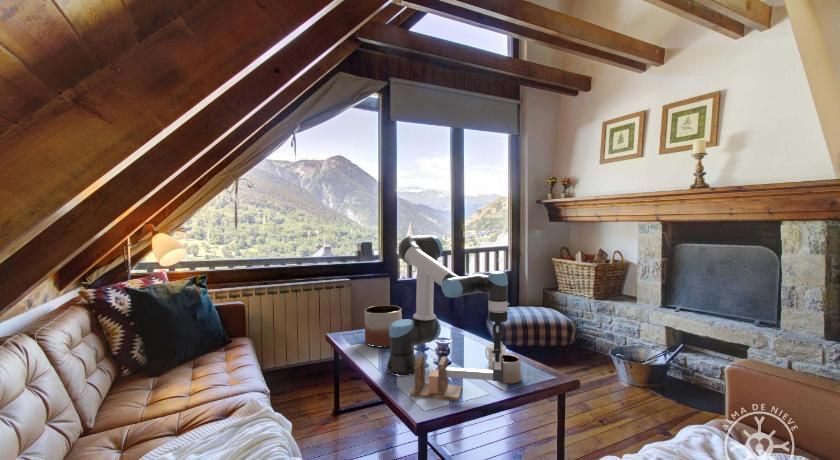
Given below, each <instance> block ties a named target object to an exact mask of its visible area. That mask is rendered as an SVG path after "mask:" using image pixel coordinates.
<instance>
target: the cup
mask: <svg viewBox="0 0 840 460" xmlns="http://www.w3.org/2000/svg"><path fill="white" fill-rule="evenodd" d="M506 349H507V347H506V346H505V345H504V344H502V355H504V354H506ZM492 351H494V343H491V344H489V345H488V346H486V347H485V357H486V359H487V360H488V364H487V365H488V368H489V370H493V358H494V353H492Z"/></svg>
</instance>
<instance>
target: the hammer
mask: <svg viewBox="0 0 840 460" xmlns="http://www.w3.org/2000/svg"><path fill="white" fill-rule="evenodd" d="M445 377H448V378H452V379H453V378H455V379H457V378H458V379H465V380H466V379H467V380H483V381H493V382H500V383H502V382H503V380H504V367H503V358H501V370H495V369H494V358H493V369H482V368H479V369H478V368H467V367H465V368H464V367H450V366H447V367H445Z"/></svg>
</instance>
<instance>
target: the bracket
mask: <svg viewBox="0 0 840 460" xmlns="http://www.w3.org/2000/svg"><path fill="white" fill-rule="evenodd" d="M437 366H438V367H437V370H438V379H439V394H436V393H429V382H428V383H427V382H426V373H425V371H426V369H425V355H422V354H419V355H418V357H417V358H416V361H415V363H414V372H415V373H414V386H413V388H412V390H410V393H409V397H411V396H417V397H416V398H424V399H425V398H427V399H436V400H437V399H438V400H446V401H447V400H448V401H449V400H450V401H459V400H460V396H461V394H462V389H463V386H462V385H453V384H449V380H448V378H449V377H445V367H448V356H442V357H441V358H440V361H439V362H438V365H437Z"/></svg>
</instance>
